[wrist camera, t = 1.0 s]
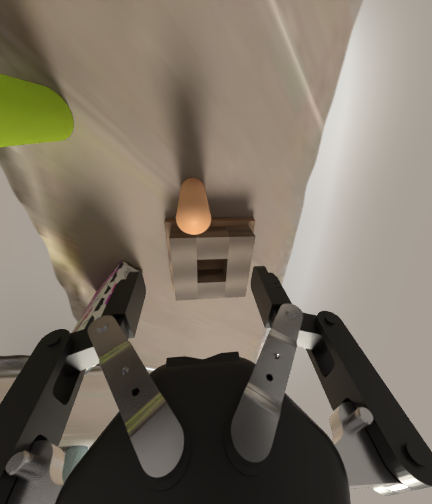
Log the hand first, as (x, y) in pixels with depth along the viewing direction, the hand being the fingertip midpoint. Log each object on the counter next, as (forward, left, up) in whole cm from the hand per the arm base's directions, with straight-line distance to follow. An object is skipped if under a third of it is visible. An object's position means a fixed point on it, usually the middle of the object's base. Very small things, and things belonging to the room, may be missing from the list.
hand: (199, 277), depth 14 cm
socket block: (+13, +3, -22) cm, 25 cm away
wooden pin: (0, 0, -22) cm, 22 cm away
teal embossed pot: (+125, -60, -22) cm, 140 cm away
